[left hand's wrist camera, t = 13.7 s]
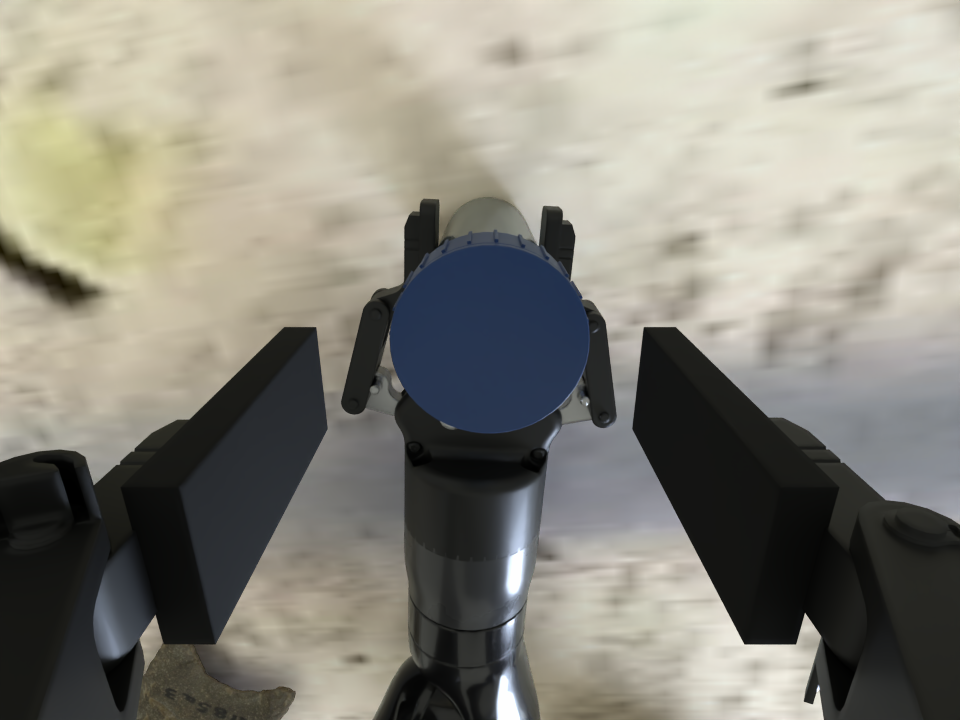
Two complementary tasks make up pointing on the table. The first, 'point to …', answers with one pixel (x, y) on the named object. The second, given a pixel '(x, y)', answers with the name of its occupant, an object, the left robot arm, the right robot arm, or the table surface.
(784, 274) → the table surface
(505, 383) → the lid
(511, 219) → the bottle
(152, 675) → the stone tool
